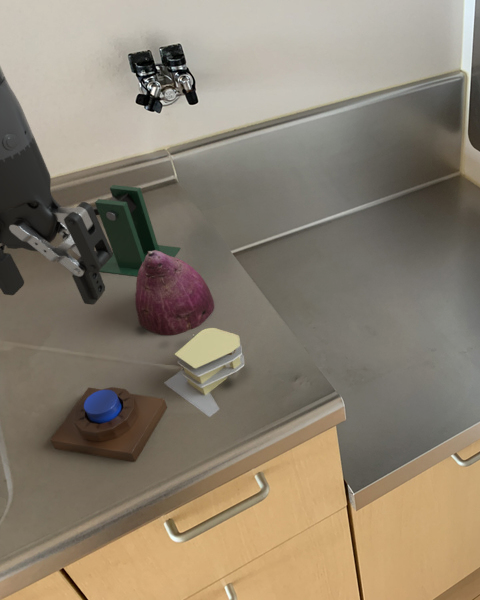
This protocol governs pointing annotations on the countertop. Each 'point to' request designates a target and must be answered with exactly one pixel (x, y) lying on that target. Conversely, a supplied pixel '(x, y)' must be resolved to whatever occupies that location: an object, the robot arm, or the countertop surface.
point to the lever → (119, 198)
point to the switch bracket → (128, 232)
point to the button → (102, 406)
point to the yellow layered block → (206, 367)
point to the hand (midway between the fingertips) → (54, 294)
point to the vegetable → (171, 295)
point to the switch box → (111, 427)
